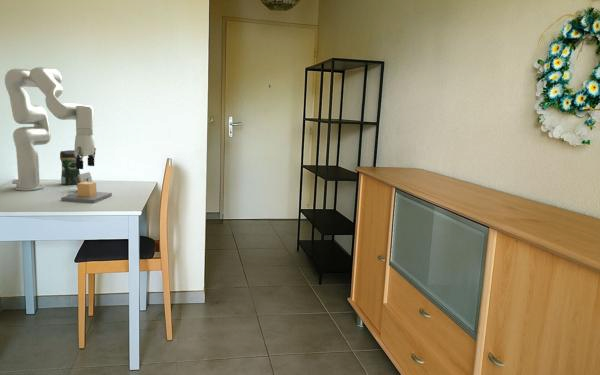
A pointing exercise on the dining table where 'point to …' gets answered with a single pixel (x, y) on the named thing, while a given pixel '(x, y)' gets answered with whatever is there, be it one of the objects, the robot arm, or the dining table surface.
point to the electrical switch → (83, 178)
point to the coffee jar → (68, 167)
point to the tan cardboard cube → (86, 189)
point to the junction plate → (92, 199)
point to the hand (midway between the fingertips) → (85, 167)
